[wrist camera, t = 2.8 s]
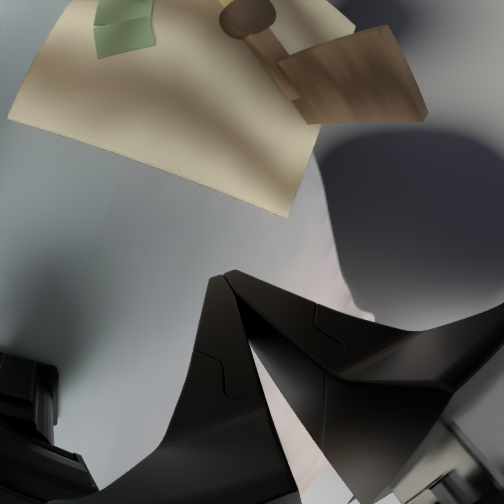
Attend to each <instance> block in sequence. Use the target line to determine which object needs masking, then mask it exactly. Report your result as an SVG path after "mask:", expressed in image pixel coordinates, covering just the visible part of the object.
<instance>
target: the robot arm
mask: <svg viewBox="0 0 504 504" xmlns="http://www.w3.org/2000/svg"><path fill="white" fill-rule="evenodd" d="M249 343H250V345H251V347H252V348H253V350H254V351H255V353H256V355H257V356H258V358H259V359H260V361H261V362H262V364H263V366H264V367H265V369H266V370H267V372H268V373H269V375H270V376H271V378H272V379H273V381H274V383H275V384H276V386H277V387H278V389H279V390H280V392H281V393H282V395H283V396H284V398H285V399H286V401H287V402H288V404H289V405H290V407H291V408H292V410H293V411H294V412H295V414H296V415H297V417H298V418H299V420H300V421H301V423H302V424H303V426H304V427H305V429H306V430H307V431H308V433H309V434H310V436H311V437H312V439H313V440H314V441H315V443H316V444H317V446H318V447H319V448H320V450H321V451H322V452H323V454H324V456H325V457H326V458H327V460H328V461H329V463H330V464H331V465H332V467H333V468H334V469H335V471H336V472H337V473H338V475H339V476H340V477H341V479H342V480H343V481H344V483H345V484H346V486H347V487H348V488H349V489H350V491H351V492H352V493H353V495H354V496H355V497H356V499H357V500H358V501H359V502H360V504H374V503H375V502H377V501H379V500H381V499H382V498H384V497H386V496H387V495H389V494H390V493H392V492H393V493H394V494H395V496H396V497H397V498H398V500H399V501H400V503H401V504H504V303H502V304H500V305H498V306H497V307H494V308H492V309H490V310H487V311H484V312H482V313H479V314H476V315H474V316H470V317H467V318H465V319H462V320H459V321H456V322H453V323H449V324H446V325H443V326H440V327H436V328H433V329H430V330H425V331H406V330H402V329H398V328H394V327H390V326H386V325H383V324H379V323H375V322H372V321H368V320H364V319H361V318H357V317H354V316H351V315H348V314H344V313H342V312H339V311H336V310H333V309H331V308H328V307H326V306H323V305H321V304H317V303H315V302H313V301H311V300H308V299H306V298H303V297H301V296H298V295H296V294H294V293H291V292H289V291H286V290H284V289H281V288H279V287H277V286H274V285H272V284H269V283H267V282H265V281H262V280H260V279H257V278H255V277H253V276H250V275H248V274H246V273H243V272H241V271H239V270H232V271H229V272H226V273H224V274H223V275H217V276H215V277H212V278H210V279H209V282H208V286H207V290H206V294H205V299H204V303H203V307H202V312H201V316H200V321H199V325H198V330H197V334H196V339H195V343H194V348H193V352H192V356H191V361H190V365H189V369H188V373H187V377H186V380H185V383H184V385H183V388H182V391H181V394H180V397H179V399H178V402H177V405H176V407H175V410H174V413H173V415H172V418H171V421H170V423H169V426H168V429H167V431H166V434H165V436H164V438H163V440H162V441H161V443H160V444H159V446H158V447H157V448H156V449H155V450H154V451H153V452H152V453H151V454H150V455H148V456H147V457H146V458H145V459H143V460H142V461H141V462H139V463H138V464H137V465H135V466H134V467H133V468H132V469H130V470H129V471H128V472H126V473H125V474H124V475H122V476H121V477H120V478H118V479H117V480H115V481H114V482H113V483H111V484H110V485H109V486H107V487H106V488H104V489H102V490H101V491H99V489H98V487H97V485H96V483H95V481H94V480H93V478H92V476H91V474H90V472H89V470H88V468H87V466H86V464H85V462H84V460H83V458H82V456H81V455H79V454H76V453H70V452H68V451H65V450H63V449H61V448H58V447H56V446H54V431H53V426H55V425H57V403H58V379H59V370H58V369H57V368H56V367H55V366H52V365H47V364H43V363H38V362H34V361H31V360H27V359H23V358H19V357H15V356H11V355H8V354H3V353H0V504H302V503H301V498H300V494H299V490H298V487H297V484H296V482H295V479H294V477H293V475H292V472H291V469H290V466H289V464H288V461H287V458H286V456H285V453H284V450H283V447H282V445H281V442H280V439H279V436H278V433H277V431H276V428H275V425H274V422H273V419H272V416H271V413H270V410H269V407H268V404H267V401H266V397H265V394H264V391H263V388H262V384H261V381H260V378H259V375H258V371H257V368H256V365H255V361H254V358H253V355H252V351H251V348H250V345H249ZM51 371H53V372H55V373H51Z"/></svg>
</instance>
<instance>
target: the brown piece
mask: <svg viewBox="0 0 504 504" xmlns="http://www.w3.org/2000/svg"><path fill="white" fill-rule="evenodd" d="M218 1H219V2H220V3H221V4H222V5H223V7H224V8H225V7H226V8H225V9H224V10H223V11H222V12H221V13H220V16H219V23H220V26H221V28H222V29H223V31H224V32H225V33H226V34H227V35H229V36H230V37H232V38H235V39H238V40H243V41H244V42H245V43H246V44H247V46H248V47H249V48H250V49H251V51H252V52H253V53H254V54H255V56H256V57H257V58H258V60H259V61H260V62H261V63H262V65H263V66H264V67H265V69H266V70H267V71H268V73H269V74H270V75H271V77H272V78H273V80H274V81H275V82H276V84H277V85H278V86H279V88H280V89H281V91H282V92H283V93H284V95H285V96H286V98H287V99H288V101H290V100H292V102H293V103H294V105H295V106H296V108H297V109H298V111H299V112H300V114H301V115H302V117H303V118H304V120H305V121H306V123H307V124H308V125H311V124H325V123H342V122H369V121H371V122H372V121H407V122H408V121H409V122H423V121H424V119H425V118H426V116H427V115H428V110H427V108H426V105H425V103H424V100H423V97H422V95H421V93H420V90H419V88H418V85H417V83H416V81H415V78H414V76H413V74H412V72H411V69H410V67H409V65H408V63H407V61H406V59H405V57H404V55H403V53H402V51H401V49H400V47H399V45H398V43H397V41H396V39H395V37H394V35H393V33H392V32H391V30H390V28H389V26H388V25H384V26H380V27H376V28H372V29H368V30H364V31H360V32H357V33H353V34H350V35H346V36H343V37H340V38H336V39H333V40H330V41H327V42H324V43H321V44H318V45H315V46H312V47H310V48H307V49H304V50H301V51H299V52H296V53H293V54H291V55H289V54H288V52H287V51H286V50H285V48H284V47H283V45H282V44H281V43H280V41H279V40H278V39H277V37H276V36H275V35H274V34H273V32H272V31H271V30H270V28H269V27H270V26H271V25H273V23H274V22H275V20H276V10H275V8H274V6H273V4H272V3H271V2H270V0H218Z"/></svg>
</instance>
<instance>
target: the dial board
mask: <svg viewBox="0 0 504 504" xmlns="http://www.w3.org/2000/svg"><path fill="white" fill-rule="evenodd" d="M270 2H271V3H272V4H273V6H274V8H275V10H276V20H275V22H274V23H273V25H271V26H270V27H269V28H270V30H271V31H272V32H273V34H274V35H275V36H276V37H277V39H278V40H279V41H280V43H281V44H282V45H283V47H284V48H285V50H286V51H287V52H288V54H289V55H291V54H293V53H296V52H299V51H301V50H304V49H307V48H310V47H312V46H315V45H318V44H321V43H324V42H327V41H330V40H333V39H336V38H340V37H343V36H346V35H350V34H353V33H354V30H355V27H356V26H355V25H354V24H353V23H352V22H351V21H350V20H348V19H347V18H346V17H345V16H344V15H343V14H342V13H341V12H339V11H338V10H337V9H336V8H335V7H334V6H332V5H331V4H330V3H329V2H328V1H326V0H270ZM225 8H226V7H225ZM225 8H224V7H223V5H222V4H221V3H220V2H219V1H218V0H72V1H71V2H70V4H69V5H68V6H67V8H66V9H65V11H64V12H63V14H62V15H61V16H60V18H59V19H58V21H57V22H56V24H55V25H54V27H53V29H52V30H51V32H50V33H49V35H48V37H47V38H46V40H45V42H44V43H43V45H42V47H41V48H40V50H39V52H38V54H37V56H36V57H35V59H34V61H33V63H32V65H31V67H30V69H29V71H28V73H27V75H26V77H25V79H24V81H23V83H22V85H21V87H20V89H19V91H18V93H17V96H16V98H15V100H14V103H13V105H12V107H11V110H10V112H9V115H8V117H7V119H9V120H11V121H15V122H18V123H22V124H25V125H28V126H32V127H35V128H38V129H42V130H45V131H48V132H52V133H55V134H58V135H61V136H64V137H67V138H71V139H74V140H77V141H80V142H83V143H86V144H89V145H92V146H95V147H98V148H101V149H104V150H107V151H110V152H113V153H116V154H119V155H122V156H124V157H127V158H130V159H133V160H136V161H139V162H142V163H144V164H147V165H150V166H153V167H155V168H158V169H161V170H164V171H166V172H169V173H172V174H175V175H177V176H180V177H183V178H185V179H188V180H191V181H193V182H196V183H198V184H201V185H204V186H206V187H209V188H211V189H214V190H217V191H219V192H222V193H224V194H227V195H229V196H232V197H234V198H237V199H239V200H242V201H244V202H247V203H249V204H252V205H254V206H257V207H259V208H262V209H264V210H267V211H269V212H271V213H274V214H276V215H279V216H281V217H285V218H287V217H288V215H289V212H290V209H291V207H292V204H293V201H294V199H295V196H296V193H297V191H298V188H299V185H300V183H301V180H302V177H303V175H304V172H305V169H306V166H307V164H308V161H309V158H310V155H311V153H312V150H313V147H314V144H315V142H316V139H317V136H318V133H319V130H320V128H321V125H322V124H311V125H308V124H307V123H306V121H305V120H304V118H303V117H302V115H301V114H300V112H299V111H298V109H297V108H296V106H295V105H294V103H293V102H292V100H290V101H288V99H287V98H286V96H285V95H284V93H283V92H282V91H281V89H280V88H279V86H278V85H277V84H276V82H275V81H274V80H273V78H272V77H271V75H270V74H269V73H268V71H267V70H266V69H265V67H264V66H263V65H262V63H261V62H260V61H259V60H258V58H257V57H256V56H255V54H254V53H253V52H252V51H251V49H250V48H249V47H248V46H247V44H246V43H245V42H244V41H243V40H238V39H235V38H232V37H230V36H229V35H227V34H226V33H225V32H224V31H223V29H222V28H221V26H220V23H219V16H220V13H221V12H222V11H223V10H224V9H225Z"/></svg>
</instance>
